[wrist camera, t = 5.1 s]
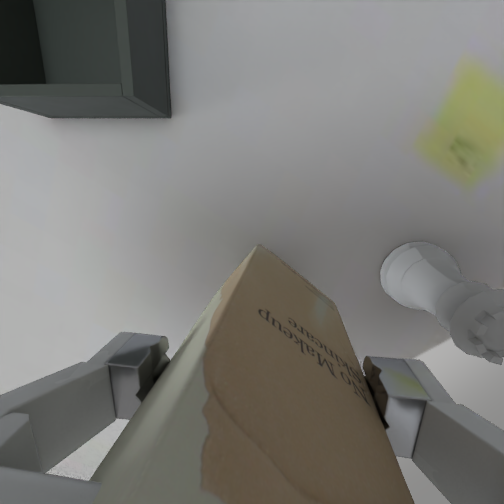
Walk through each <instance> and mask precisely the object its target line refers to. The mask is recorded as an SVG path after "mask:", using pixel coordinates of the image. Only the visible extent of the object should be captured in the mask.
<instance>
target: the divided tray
mask: <svg viewBox="0 0 504 504" xmlns="http://www.w3.org/2000/svg"><path fill="white" fill-rule="evenodd" d="M0 104H3V105H6V106H10V107H13V108H17V109H20V110H24V111H27V112H31V113H34V114H38V115H41V116H45V117H48V118H171V107H170V87H169V68H168V49H167V30H166V11H165V0H0Z"/></svg>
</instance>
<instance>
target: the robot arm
mask: <svg viewBox="0 0 504 504" xmlns="http://www.w3.org/2000/svg"><path fill="white" fill-rule="evenodd" d="M168 349H169V343H168V339H167V337H166V336H158V335H150V334H142V333H133V332H120V333H119V334H118V335H117V336H115V337H114V338H113V339H112V340H111V341H110V342H109V343H108V344H107V345H105V346H104V347H103V348H102V349H101V350H100V351H99V352H98V353H96V354H95V355H94V356H93V357H92V358H91V359H90V360H89V361H88V362H80V363H78V364H75V365H73V366H71V367H68V368H66V369H63V370H61V371H58V372H56V373H53V374H51V375H49V376H46V377H44V378H41V379H39V380H36V381H34V382H32V383H29V384H27V385H24V386H22V387H19V388H17V389H14V390H12V391H10V392H7V393H5V394H2V395H0V504H92V503H93V501H94V499H95V498H96V496H97V494H98V492H99V490H100V488H101V486H102V483H99V482H93V481H87V480H81V479H75V478H70V477H64V476H58V475H52V474H46V472H47V471H49V470H50V469H51V468H53V467H54V466H55V465H57V464H58V463H59V462H61V461H62V460H63V459H65V458H66V457H67V456H69V455H70V454H71V453H73V452H74V451H75V450H77V449H78V448H79V447H81V446H82V445H83V444H85V443H86V442H87V441H89V440H90V439H91V438H93V437H94V436H95V435H97V434H98V433H99V432H101V431H102V430H103V429H105V428H106V427H107V426H109V425H110V424H111V423H113V422H114V421H115V420H116V418H118V419H128V420H130V419H131V418H132V416H133V415H134V413H135V412H136V410H137V409H138V408H139V406H140V405H141V403H142V402H143V400H144V399H145V397H146V396H147V394H148V393H149V391H150V390H151V388H152V387H153V386H154V384H155V383H156V381H157V380H158V378H159V377H160V375H161V374H162V373H163V371H164V370H165V368H166V367H167V365H168V364H169V362H170V359H169V358H168V357H167V355H166V354H165V353H166V352H167V350H168ZM363 369H364V372H365V374H366V376H365V380H366V383H367V385H368V388H369V390H370V393H371V395H372V398H373V401H374V403H375V406H376V408H377V411H378V413H379V416H380V418H381V420H382V423H383V426H384V428H385V431H386V433H387V436H388V438H389V441H390V443H391V446H392V449H393V451H394V454H395V456H398V457H405V458H411V459H412V461H413V462H414V463H415V464H416V465H417V466H418V468H419V469H420V470H421V471H422V472H423V473H424V474H425V475H426V476H427V478H428V479H429V480H430V481H431V482H432V483H433V484H434V485H435V486H436V487H437V489H438V490H439V491H440V492H441V493H442V494H443V495H444V496H445V497H446V498H447V500H448V501H449V502H450V503H451V504H504V431H503V430H502V429H500V428H499V427H497V426H495V425H494V424H492V423H491V422H489V421H488V420H486V419H484V418H482V417H481V416H480V415H478V414H476V413H475V412H473V411H472V410H470V409H469V408H467V407H465V406H464V405H461V404H456V403H455V402H454V401H453V399H452V398H451V397H450V396H449V394H448V393H447V392H446V390H445V389H444V388H443V387H442V385H441V384H440V383H439V381H438V380H437V379H436V378H435V376H434V375H433V374H432V373H431V371H430V370H429V369H428V367H427V366H426V365H425V364H424V362H422V361H420V360H415V359H395V358H383V357H371V356H366V357H365V359H364V363H363Z"/></svg>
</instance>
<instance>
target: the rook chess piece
mask: <svg viewBox="0 0 504 504" xmlns="http://www.w3.org/2000/svg"><path fill="white" fill-rule="evenodd" d="M380 277H381V285H382V286H383V288H384V290H385V292H386V294H388V295H389V296H390V297H392V298H393V299H394V300H396V301H397V302H398V303H400V304H401V305H402V306H405V307H408V308H412V309H416V310H424V311H428V312H430V313H432V314H433V315H435V316H436V318H437V320H438V322H439V324H440V325H441V326H442V327H444V328H445V329H446V330H448V331H450V335H451V337H452V339H453V341H454V343H455V345H456V346H457V347H458V348H460V349H461V350H462V351H464V352H465V353H466V354H469V355H474V356H477V357H481V358H482V357H483V358H485V359H486V360H488V361H489V362H492V363H496V364H500V365H501V364H502V361H503V358H502V357H504V290H503V289H499V290H493V289H492V288H491V287H489V286H488V285H487V284H484V283H480V282H476V281H469V280H467V279H466V278H465V277H464V276H462V274H461V272H460V269H459V267H458V264H457V262H456V260H455V259H454V258H453V257H452V256H451V255H450V254H449V253H447V252H446V251H445V250H443V249H442V248H439V247H438V246H436V245H435V244H431V243H427V242H423V241H419V242H411V243H406V244H404V245H402V246H400V247H398V248H396V249H394V250H393V251H392V253H391V254H390V255H389V256H388V257H387V258H386V259H385V261H384V263H383V266H382V268H381V271H380Z"/></svg>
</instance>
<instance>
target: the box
mask: <svg viewBox="0 0 504 504" xmlns="http://www.w3.org/2000/svg"><path fill="white" fill-rule="evenodd" d="M89 481H93V482H99V483H102V486H101V488H100V490H99V492H98V494H97V496H96V498H95V499H94V501H93V503H92V504H414V501H413V499H412V496H411V494H410V491H409V489H408V487H407V484H406V482H405V479H404V477H403V475H402V472H401V469H400V467H399V464H398V461H397V459H396V456H395V454H394V451H393V449H392V446H391V443H390V441H389V438H388V436H387V433H386V431H385V428H384V426H383V423H382V420H381V418H380V416H379V413H378V411H377V408H376V406H375V403H374V401H373V398H372V395H371V393H370V390H369V388H368V385H367V383H366V380H365V377H364V375H363V372H362V370H361V367H360V365H359V362H358V360H357V358H356V355H355V353H354V350H353V348H352V345H351V343H350V340H349V338H348V335H347V332H346V330H345V327H344V325H343V322H342V320H341V317H340V315H339V312H338V310H337V307H336V305H335V303H334V302H333V301H332V300H331V299H329V298H328V297H327V296H326V295H324V294H323V293H322V292H321V291H320V290H318V289H317V288H316V287H315V286H313V285H312V284H311V283H310V282H308V281H307V280H306V279H305V278H303V277H302V276H301V275H300V274H298V273H297V272H296V271H295V270H293V269H292V268H291V267H290V266H288V265H287V264H286V263H285V262H283V261H282V260H281V259H279V258H278V257H277V256H275V255H274V254H273V253H272V252H270V251H269V250H268V249H266V248H265V247H264V246H262V245H261V244H258V245H256V247H255V248H254V249H253V250H252V251H251V252H250V253H249V254H248V256H247V257H246V258H245V259H244V260H243V261H242V262H241V264H240V265H239V266H238V267H237V268H236V270H235V271H234V272H233V273H232V274H231V276H230V277H229V278H228V279H227V280H226V282H225V283H224V284H223V285H222V287H221V288H220V289H219V290H218V292H217V293H216V294H215V296H214V297H213V298H212V300H211V301H210V303H209V304H208V306H207V307H206V309H205V310H204V312H203V313H202V314H201V316H200V317H199V319H198V320H197V322H196V323H195V325H194V326H193V328H192V329H191V331H190V332H189V334H188V335H187V337H186V339H185V340H184V342H183V343H182V345H181V346H180V348H179V349H178V350H177V352H176V353H175V355H174V356H173V358H172V359H171V361H170V362H169V364H168V365H167V367H166V368H165V370H164V371H163V373H162V374H161V375H160V377H159V378H158V380H157V381H156V383H155V384H154V386H153V387H152V388H151V390H150V391H149V393H148V394H147V396H146V397H145V399H144V400H143V402H142V403H141V405H140V406H139V408H138V409H137V410H136V412H135V413H134V415H133V416H132V418H131V419H130V421H129V422H128V424H127V425H126V427H125V428H124V430H123V431H122V433H121V434H120V436H119V437H118V439H117V440H116V442H115V443H114V445H113V446H112V448H111V449H110V451H109V452H108V454H107V455H106V457H105V458H104V459H103V461H102V462H101V464H100V465H99V467H98V468H97V470H96V471H95V473H94V474H93V476H92V477H91V479H90V480H89Z"/></svg>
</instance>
